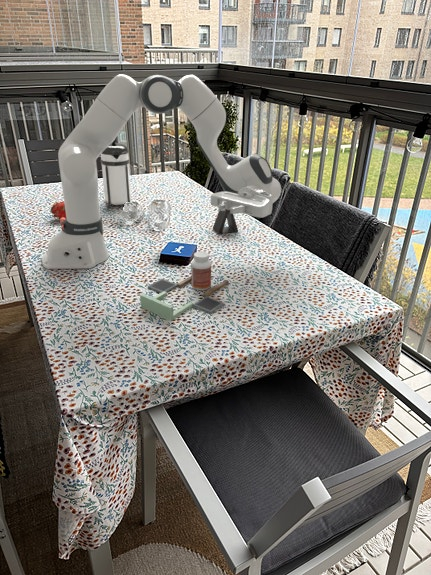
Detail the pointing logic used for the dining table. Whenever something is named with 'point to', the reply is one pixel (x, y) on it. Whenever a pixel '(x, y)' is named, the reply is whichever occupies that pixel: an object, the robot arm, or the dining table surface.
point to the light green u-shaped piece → (162, 306)
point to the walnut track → (208, 290)
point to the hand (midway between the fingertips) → (225, 209)
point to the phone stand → (221, 221)
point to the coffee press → (116, 174)
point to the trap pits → (203, 304)
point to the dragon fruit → (58, 210)
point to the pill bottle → (201, 271)
